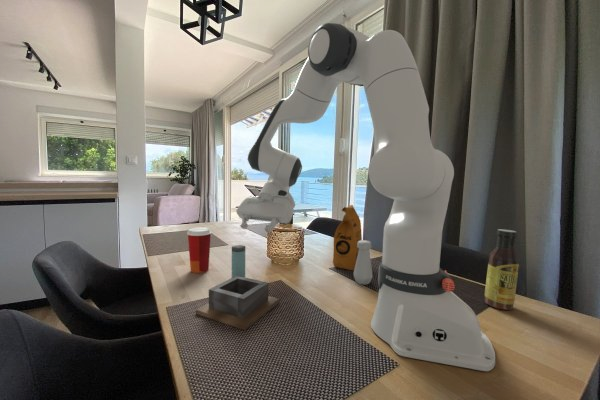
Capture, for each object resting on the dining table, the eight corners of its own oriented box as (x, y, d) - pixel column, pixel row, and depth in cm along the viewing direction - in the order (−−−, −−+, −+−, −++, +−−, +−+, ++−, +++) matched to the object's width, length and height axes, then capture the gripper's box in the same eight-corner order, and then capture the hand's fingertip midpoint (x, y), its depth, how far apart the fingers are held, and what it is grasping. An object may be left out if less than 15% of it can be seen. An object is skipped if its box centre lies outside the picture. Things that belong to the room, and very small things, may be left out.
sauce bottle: (499, 312, 65) (506, 233, 63) (477, 300, 71) (484, 228, 70) (521, 310, 66) (529, 232, 65) (498, 299, 73) (504, 227, 71)
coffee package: (328, 267, 95) (330, 206, 94) (339, 258, 106) (341, 203, 105) (355, 272, 91) (357, 208, 89) (364, 262, 102) (366, 205, 100)
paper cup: (211, 265, 94) (211, 226, 93) (211, 273, 87) (211, 231, 85) (187, 267, 91) (187, 227, 90) (185, 275, 84) (185, 232, 83)
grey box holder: (279, 302, 68) (279, 281, 67) (245, 330, 55) (245, 304, 54) (235, 291, 74) (235, 271, 73) (195, 313, 61) (195, 290, 61)
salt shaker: (372, 286, 79) (374, 244, 78) (353, 284, 80) (354, 242, 79) (371, 279, 84) (373, 239, 83) (353, 277, 86) (354, 238, 85)
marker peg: (247, 281, 80) (248, 246, 79) (239, 286, 77) (239, 249, 76) (237, 279, 82) (237, 244, 81) (228, 283, 78) (228, 247, 77)
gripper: (243, 190, 96) (225, 220, 88) (294, 192, 87) (278, 227, 79) (251, 201, 100) (234, 231, 92) (299, 205, 91) (285, 238, 83)
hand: (254, 229), depth 85 cm, fingers open, 8 cm apart
